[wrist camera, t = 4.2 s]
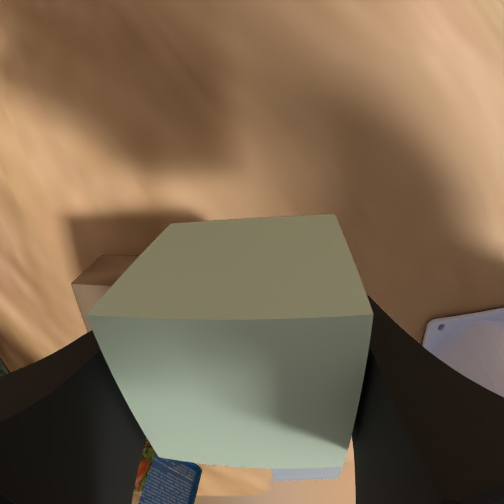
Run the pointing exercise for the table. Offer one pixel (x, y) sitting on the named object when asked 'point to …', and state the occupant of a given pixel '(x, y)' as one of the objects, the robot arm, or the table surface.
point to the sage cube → (241, 341)
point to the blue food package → (165, 480)
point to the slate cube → (306, 473)
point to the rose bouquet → (3, 369)
